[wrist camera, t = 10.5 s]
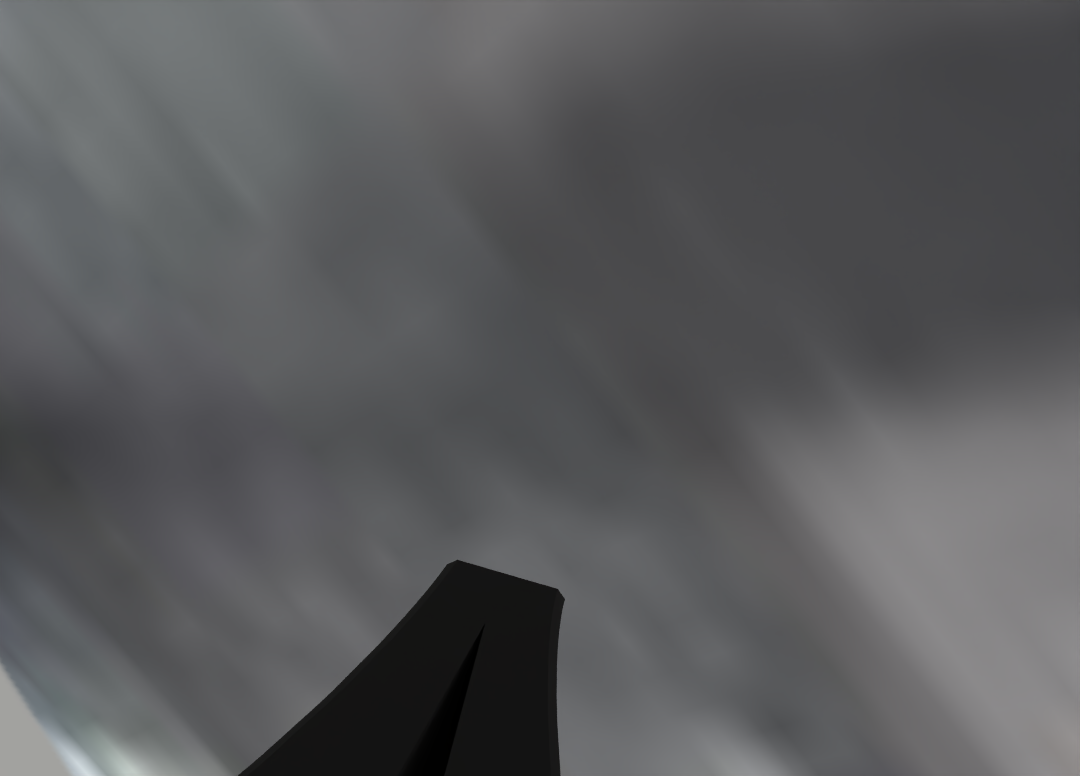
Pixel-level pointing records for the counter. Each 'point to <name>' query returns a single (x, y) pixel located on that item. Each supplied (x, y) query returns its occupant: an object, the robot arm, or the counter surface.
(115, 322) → the counter surface
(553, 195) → the counter surface
